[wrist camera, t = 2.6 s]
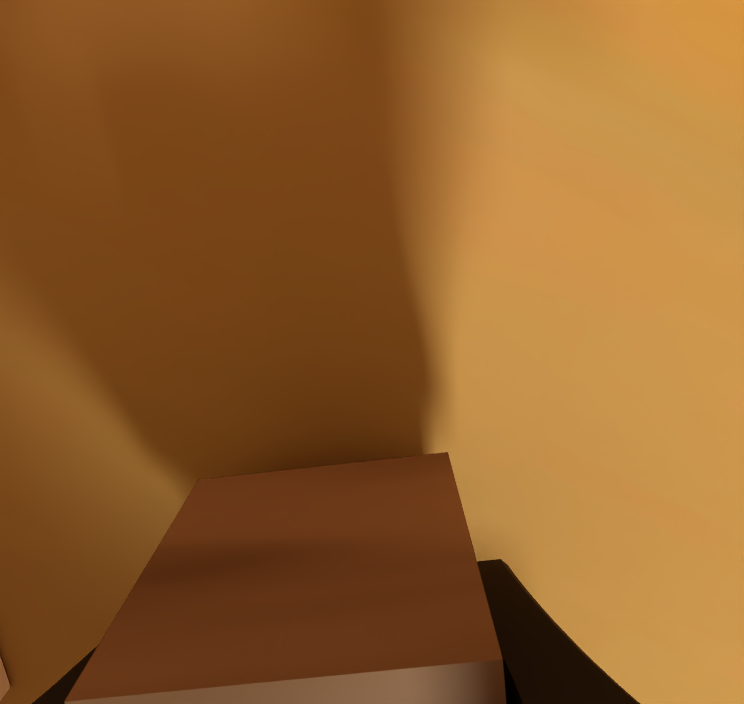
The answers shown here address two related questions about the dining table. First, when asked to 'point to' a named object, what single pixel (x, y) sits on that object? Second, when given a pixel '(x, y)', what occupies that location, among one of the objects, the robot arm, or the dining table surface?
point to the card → (3, 681)
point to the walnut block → (308, 596)
